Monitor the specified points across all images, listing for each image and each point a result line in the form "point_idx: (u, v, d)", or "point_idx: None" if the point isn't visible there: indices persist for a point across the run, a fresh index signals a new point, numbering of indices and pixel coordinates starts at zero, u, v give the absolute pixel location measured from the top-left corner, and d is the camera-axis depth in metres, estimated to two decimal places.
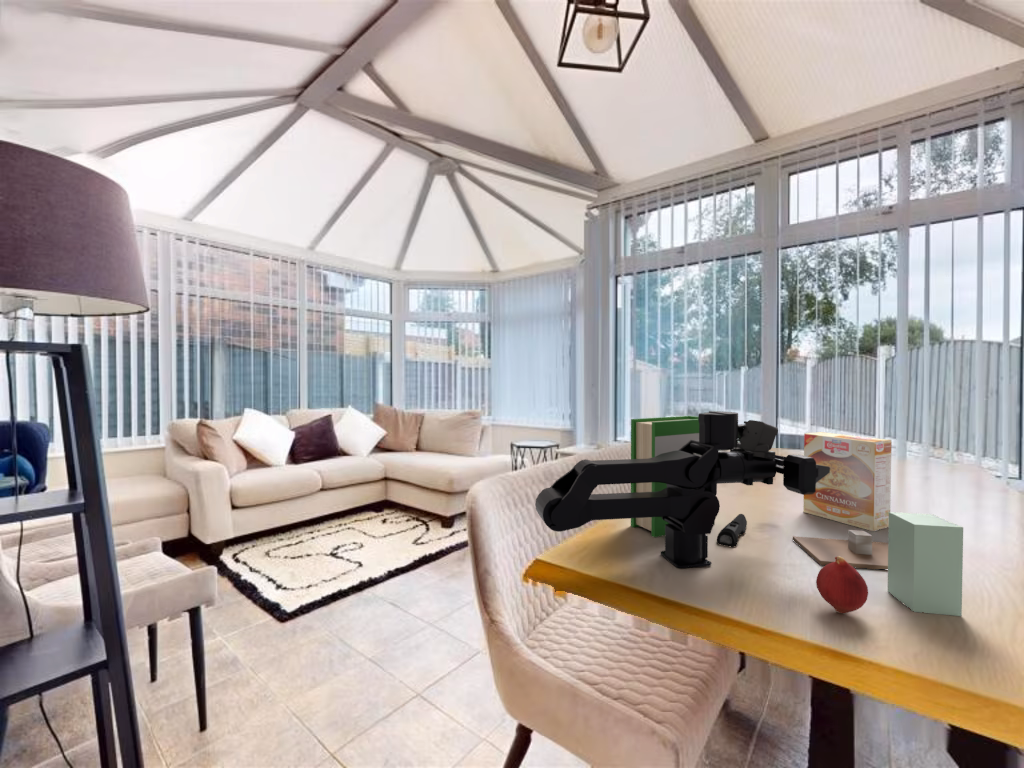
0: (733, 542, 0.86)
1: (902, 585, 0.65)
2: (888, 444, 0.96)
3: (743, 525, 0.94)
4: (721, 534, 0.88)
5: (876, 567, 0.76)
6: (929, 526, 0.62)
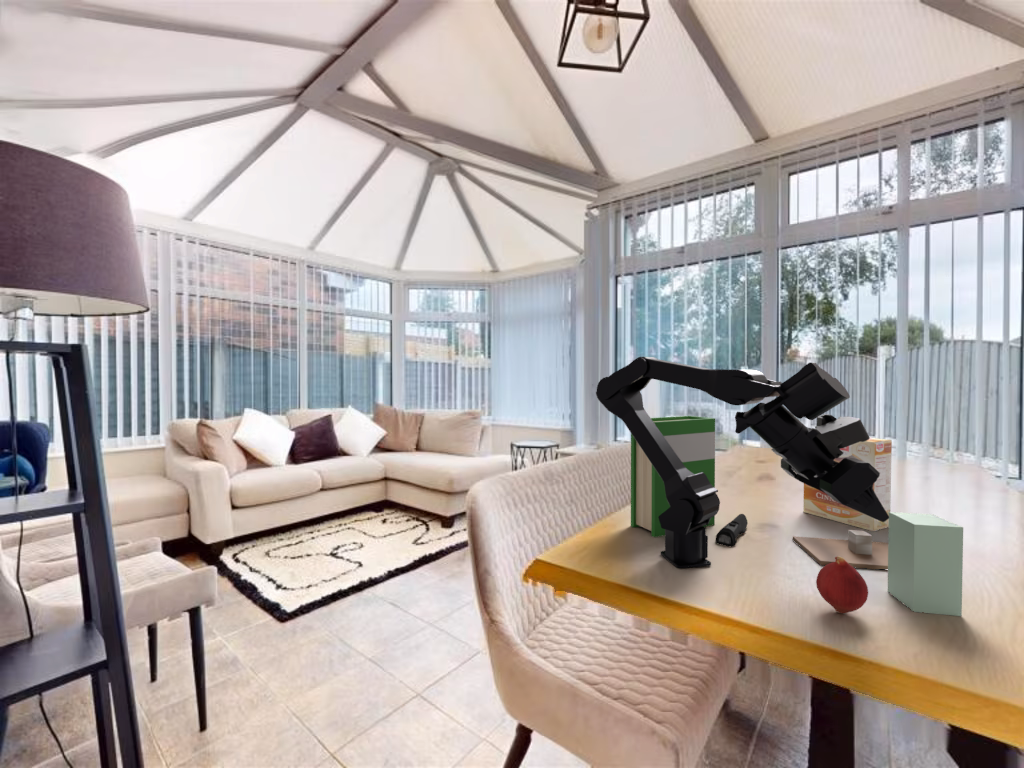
0: (732, 542, 0.86)
1: (902, 585, 0.65)
2: (888, 444, 0.96)
3: (743, 525, 0.94)
4: (720, 534, 0.88)
5: (876, 567, 0.76)
6: (929, 526, 0.62)
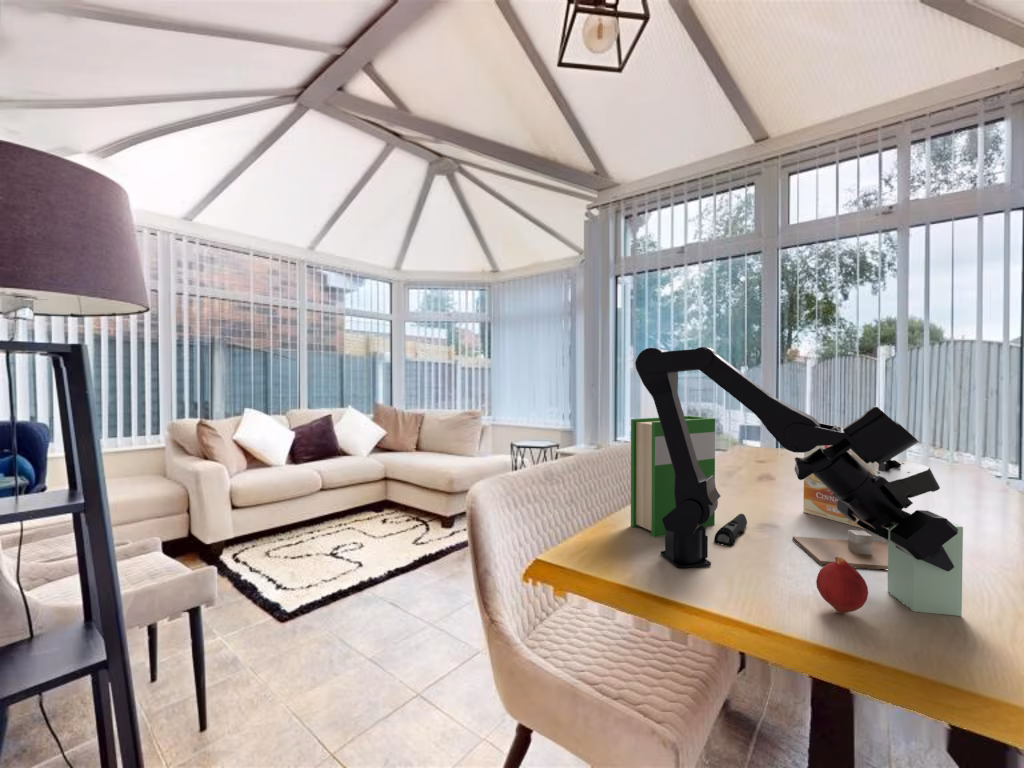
0: (730, 541, 0.87)
1: (902, 585, 0.65)
2: None
3: (742, 525, 0.94)
4: (719, 533, 0.88)
5: (876, 567, 0.76)
6: None
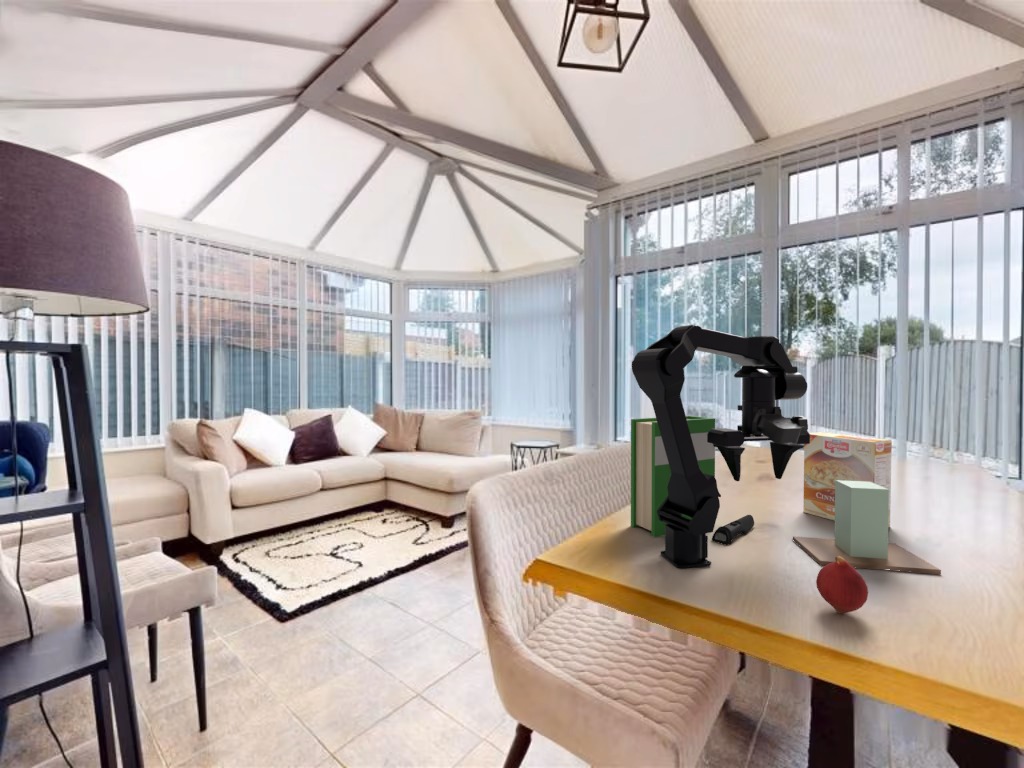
0: (727, 540, 0.87)
1: (844, 537, 0.82)
2: (888, 444, 0.96)
3: (747, 525, 0.94)
4: (716, 531, 0.89)
5: (876, 567, 0.76)
6: (863, 489, 0.79)
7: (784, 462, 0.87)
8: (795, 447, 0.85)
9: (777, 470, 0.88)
